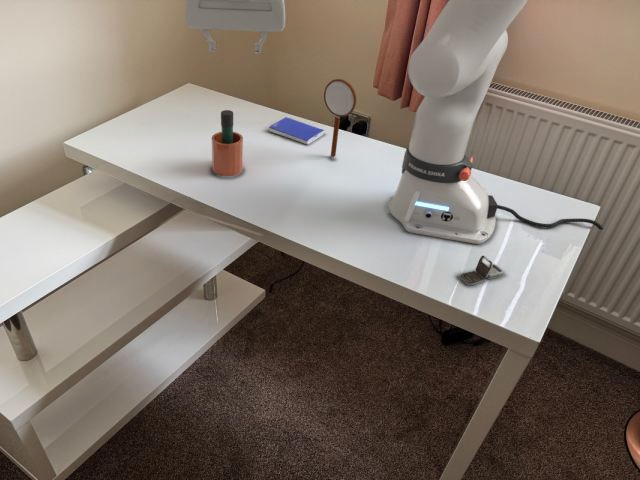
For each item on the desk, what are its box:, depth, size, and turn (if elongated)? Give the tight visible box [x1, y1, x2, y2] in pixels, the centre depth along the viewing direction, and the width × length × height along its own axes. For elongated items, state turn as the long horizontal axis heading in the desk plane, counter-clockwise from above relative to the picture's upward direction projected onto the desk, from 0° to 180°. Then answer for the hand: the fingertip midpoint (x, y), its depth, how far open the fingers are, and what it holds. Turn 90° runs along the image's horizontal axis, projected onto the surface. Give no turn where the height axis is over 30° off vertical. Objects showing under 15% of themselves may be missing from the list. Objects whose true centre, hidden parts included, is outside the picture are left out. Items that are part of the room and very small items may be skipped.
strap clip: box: [459, 255, 505, 286], centre depth 108 cm, size 8×3×4 cm, turn 114°
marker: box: [220, 109, 234, 144], centre depth 134 cm, size 3×3×14 cm
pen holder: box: [211, 131, 244, 177], centre depth 136 cm, size 7×7×8 cm
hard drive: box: [268, 116, 325, 145], centre depth 154 cm, size 2×8×12 cm
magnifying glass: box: [323, 78, 357, 160], centre depth 138 cm, size 9×2×20 cm, turn 50°
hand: (235, 51), depth 120 cm, fingers open, 8 cm apart
